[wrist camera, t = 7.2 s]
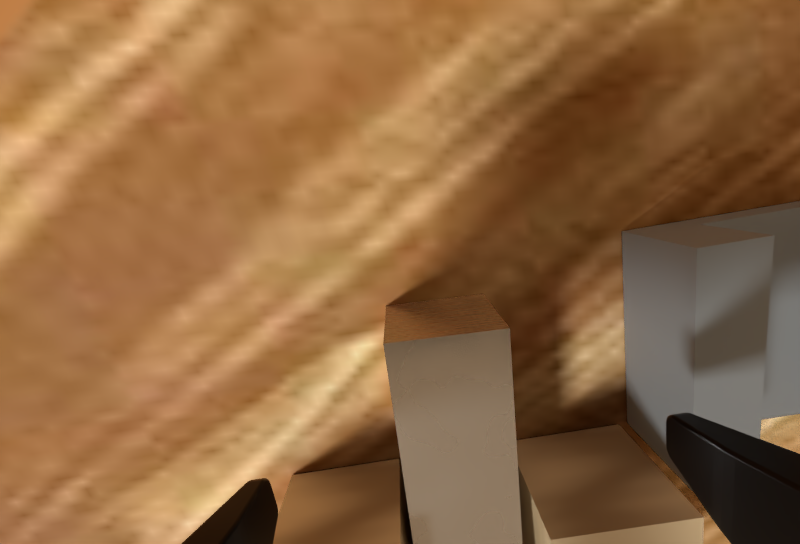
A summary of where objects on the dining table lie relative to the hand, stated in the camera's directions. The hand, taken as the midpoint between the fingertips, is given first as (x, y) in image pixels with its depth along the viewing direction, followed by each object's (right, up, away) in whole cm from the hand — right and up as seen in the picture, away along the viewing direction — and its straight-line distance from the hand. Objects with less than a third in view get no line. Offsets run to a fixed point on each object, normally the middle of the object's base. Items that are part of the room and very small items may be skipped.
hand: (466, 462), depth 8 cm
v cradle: (+10, +3, +4) cm, 11 cm away
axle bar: (0, -3, +6) cm, 6 cm away
